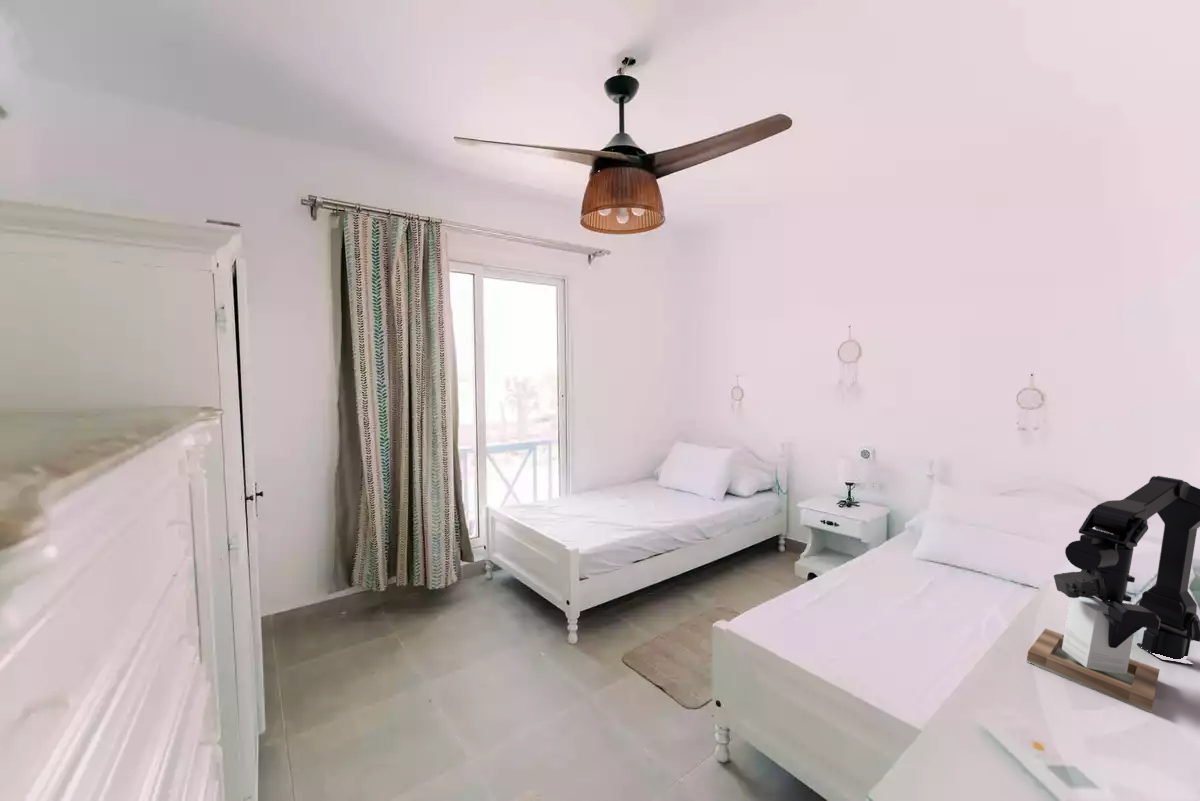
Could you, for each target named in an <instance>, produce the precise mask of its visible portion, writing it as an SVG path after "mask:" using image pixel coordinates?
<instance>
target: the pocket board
mask: <svg viewBox="0 0 1200 801" xmlns="http://www.w3.org/2000/svg"><path fill="white" fill-rule="evenodd" d="M1063 639H1064V634H1062V633H1059V632H1056V631H1054V630H1051V629H1049V628H1044V630H1043V631H1042V632H1041V633H1040V635H1039V636H1038V638H1037V639H1036V640H1035V642H1034V643H1033V644H1032V645H1031V646H1030V648H1029V649H1028V652H1027V655H1026V656H1027V657H1026V662H1027V661H1028V662H1030V663H1032V664H1031V665H1033V664H1034V665H1033V666H1035V665H1036V667H1038V668H1040V669H1042V668H1043V670H1046V671H1047V672H1050V673H1053V674H1055V675H1056V676H1060V677H1062V678H1065V679H1067V680H1069V681H1072V682H1074V683H1076V684H1079V685H1082V686H1085V687H1086V688H1090V689H1092V690H1093V691H1097V692H1099V693H1101V694H1104V695H1105V696H1109V697H1111V698H1112V699H1113V698H1114V699H1116V700H1119V701H1120V702H1123V703H1126V704H1128V705H1130V706H1133V707H1135V708H1138V709H1140V710H1142V711H1145V712H1148V713H1150V714H1152V712H1153V707H1154V701H1155V697H1156V696H1155V695H1156V691H1157V684H1158V680H1159V674H1160V668H1157V667H1154V666H1151V665H1148V664H1145V663H1143V662H1140V661H1137V660H1135V659H1132V658H1129V664H1128V670H1127V674H1126V675H1122V674H1117V673H1110V672H1105V671H1099V670H1094V669H1089V668H1086V667H1085V666H1083V665H1082V664H1081V663H1079V662H1078V661H1077V660H1075V659H1074V658H1073V657H1071V656H1070V655H1069V654H1067V653H1066V652H1065V651H1063V650H1062V645H1063ZM1028 662H1027V663H1028ZM1030 663H1029V664H1030Z"/></svg>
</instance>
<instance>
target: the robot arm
mask: <svg viewBox="0 0 1200 801" xmlns="http://www.w3.org/2000/svg"><path fill="white" fill-rule="evenodd" d="M1155 514H1157V515H1158V516H1159V517H1160V519H1161V521H1162V523H1163V524H1164V527H1163V535H1162V542H1161V549H1160V554H1159V560H1158V561H1159V562H1158V568H1157V575H1156V582H1155V585H1154V586H1152V587H1150V588H1149V589H1148V590H1145V591H1144V592H1142V596H1141V598H1140V600H1139V602H1138V605H1137V604H1132V603H1130V602H1131V601H1132V596H1131V595H1128V594H1127V593H1126V592H1127V588H1128V582H1129V583H1135V580H1136V577H1134V576H1133V575H1130V571H1131V565H1132V561H1133V560H1132V559H1133V555H1134V547H1135V548H1136V547H1138V543H1139V542H1140V541H1141V539H1142V538H1143V537H1144V536H1145V534H1146V533H1147V532H1148V530H1149V525H1148V520H1149V519H1150V518H1151V517H1153V516H1154V515H1155ZM1199 528H1200V488H1198V487H1196V486H1194V485H1191V484H1190V483H1189V482H1187V481H1185V480H1184V479H1179V478H1175V477H1174V478H1173V477H1168V476H1162V475H1157V476H1155V475H1153V476H1151V477H1150V479H1149V481H1148V482H1147V483H1146V484H1144V485H1143V486H1141V487H1140V488H1138V489H1137V490H1135V491H1134V492H1132V493H1131V494H1129V495H1128V496H1125V498H1123V499H1120V500H1118V499H1115V500H1106V501H1104V502H1101V503H1098V504H1097V505H1096V506H1095V507H1093V508H1092V509H1091V510H1090V512H1089V514H1088V515H1087V517H1086V518H1085V520H1084V521H1083V523H1082V524H1081V526H1080V528H1079V529H1078V534H1081V535H1080V536H1079V540H1074V541H1071V542H1070V543H1068V545H1067V546H1066V547H1065V549H1064V550H1065V551H1064V553H1065V556H1066V559H1067V560H1068V561H1069V563H1070V564H1071V565H1073V566H1074V567H1075V568H1078V569H1080V571H1069V572H1062V573H1057V574H1056V573H1055V574H1054V575H1053V579H1054V584H1055V587H1056V590H1057V591H1058V592H1061V593H1062V594H1064V595H1065V596H1066V597H1068V598H1069V599H1070V598H1079V597H1086V598H1093V599H1097V600H1099V601H1101V602H1103V603H1104V604H1106V605H1108V612H1109V614H1104V613H1103V615H1104V616H1105V617H1106V618H1107V620H1108V621H1109V636H1108V644H1109V647H1111V648H1117V647H1118V646H1119V645H1120V644H1121V643H1123V642H1124V641H1125V640H1126V639H1127V638H1129V637H1130V636H1131V635H1132V634H1133V635H1134V634H1135V633H1137V632H1138V631H1140V630H1141V629H1144V630H1143V635H1142V640H1141V643H1140V642H1137V643H1136V646H1137V647H1139V646H1140V647H1139V648H1141V647H1142V648H1143V650H1144V649H1145V650H1144V651H1146V650H1148V651H1149V652H1151V653H1155V654H1160V655H1163V656H1166V657H1170V658H1173V659H1181V658H1183V657H1184V656H1188V657H1189V652H1190V647H1191V642H1192V641H1195V642H1200V618H1199V615H1198V614H1197V609H1198V608H1197V607H1198V605H1197V602H1195V599H1193V597H1192V595H1191V594H1190V592H1189V590H1188V589H1189V585H1190V584H1189V583H1190V576H1191V571H1192V564H1193V557H1194V551H1195V550H1194V549H1195V546H1196V538H1197V532H1198V529H1199ZM1124 602H1129V603H1124ZM1145 628H1146V629H1145ZM1142 648H1141V649H1142ZM1149 652H1148V653H1149Z"/></svg>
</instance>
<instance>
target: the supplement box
mask: <svg viewBox="0 0 1200 801" xmlns="http://www.w3.org/2000/svg"><path fill="white" fill-rule="evenodd" d="M1068 602H1069V603H1068V608H1067V616H1066V619H1065V620H1066V622H1065V627H1064V634H1063V635H1064V639H1063V645H1062V650H1063V651H1065V652H1066V653H1067V654H1069V655H1070V656H1071V657H1073V658H1074V659H1075V660H1077V661H1078V662H1079V663H1081V664H1082V665H1083V666H1085V667H1086V668H1089V669H1094V670H1099V671H1105V672H1110V673H1117V674H1122V675H1126V674H1127V670H1128V664H1129V659H1131V658H1130V657H1131V652H1132V647H1133V646H1132V645H1133V639H1134V634H1132V635H1131V636H1130V637H1129V638H1127V639H1126V640H1125V641H1124V642H1123V643H1121V644H1120V645H1119V646H1118V647H1117V648H1111V647H1109V644H1108V636H1109V621H1108V620H1107V618H1106V617H1105V616H1104V615H1103V613H1104V614H1109V612H1108V605H1106V604H1104V603H1103V602H1101V601H1099V600H1097V599H1093V598H1086V597H1079V598H1070V597H1069V601H1068Z"/></svg>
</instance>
